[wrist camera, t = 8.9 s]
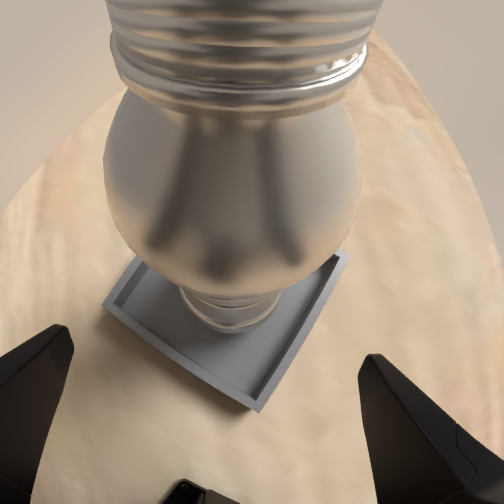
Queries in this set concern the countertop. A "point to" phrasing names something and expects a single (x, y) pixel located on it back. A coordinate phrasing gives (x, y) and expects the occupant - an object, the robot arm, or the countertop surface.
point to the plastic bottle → (235, 144)
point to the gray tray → (222, 344)
